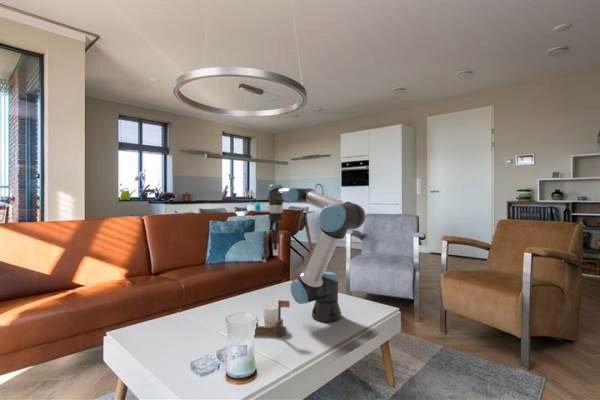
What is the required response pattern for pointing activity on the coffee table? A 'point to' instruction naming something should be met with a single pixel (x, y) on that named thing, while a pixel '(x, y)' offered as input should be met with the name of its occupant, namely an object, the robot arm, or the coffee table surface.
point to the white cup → (271, 315)
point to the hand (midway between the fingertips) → (275, 255)
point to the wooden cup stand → (273, 330)
